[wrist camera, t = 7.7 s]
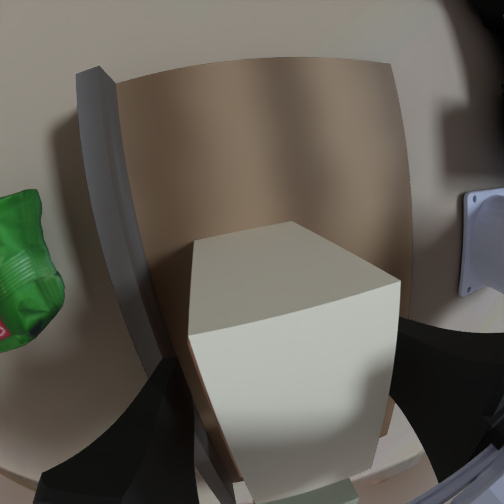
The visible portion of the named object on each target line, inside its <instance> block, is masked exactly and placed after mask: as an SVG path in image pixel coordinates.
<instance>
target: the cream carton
mask: <svg viewBox="0 0 504 504" xmlns="http://www.w3.org/2000/svg"><path fill="white" fill-rule="evenodd" d="M400 287H401V281H400V280H399V279H397V278H395V277H393V276H392V275H390V274H388V273H386V272H385V271H383V270H381V269H379V268H378V267H376V266H374V265H372V264H371V263H369V262H367V261H365V260H363V259H362V258H360V257H358V256H356V255H354V254H353V253H351V252H349V251H347V250H345V249H344V248H342V247H340V246H338V245H336V244H334V243H332V242H331V241H329V240H327V239H325V238H323V237H321V236H319V235H318V234H316V233H314V232H312V231H310V230H308V229H306V228H304V227H302V226H300V225H298V224H297V223H295V222H293V221H290V222H284V223H279V224H274V225H269V226H264V227H259V228H254V229H249V230H244V231H239V232H234V233H229V234H224V235H219V236H214V237H209V238H205V239H200V240H195V241H194V248H193V261H192V273H191V287H190V304H189V323H188V347H189V350H190V353H191V356H192V359H193V362H194V365H195V368H196V370H197V373H198V376H199V379H200V382H201V384H202V387H203V390H204V392H205V395H206V398H207V400H208V403H209V405H210V408H211V411H212V413H213V416H214V418H215V421H216V423H217V425H218V428H219V430H220V433H221V435H222V437H223V440H224V442H225V444H226V447H227V449H228V451H229V454H230V456H231V458H232V460H233V462H234V465H235V467H236V469H237V471H238V473H239V475H240V478H241V477H243V479H244V482H245V484H246V486H247V488H248V490H249V492H250V494H251V496H252V498H253V500H254V502H255V504H261V503H266V502H270V501H275V500H279V499H283V498H287V497H291V496H294V495H298V494H302V493H305V492H308V491H312V490H315V489H318V488H321V487H324V486H327V485H330V484H333V483H335V482H338V481H341V480H343V479H346V478H349V477H351V476H354V475H356V474H358V473H361V472H363V471H365V470H368V469H370V468H371V466H372V463H373V459H374V456H375V452H376V449H377V445H378V441H379V437H380V433H381V429H382V424H383V420H384V415H385V411H386V406H387V401H388V395H389V390H390V384H391V378H392V372H393V365H394V357H395V349H396V341H397V331H398V320H399V306H400Z"/></svg>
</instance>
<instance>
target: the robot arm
mask: <svg viewBox="0 0 504 504" xmlns="http://www.w3.org/2000/svg"><path fill="white" fill-rule="evenodd" d="M486 285H487V286H489V287H491V288H493V289H495V290H497V291H499V292H501V293H503V294H504V187H501V188H493V189H486V190H478V191H471V192H466V193H465V195H464V231H463V252H462V265H461V276H460V284H459V295H460V296H461V297H465V296H467V295H469V294H471V293H473V292H475V291H477V290H479V289H481V288H483V287H485V286H486ZM389 395H390V397H391V398H392V399H393V400H394V401H395V403H396V404H397V405H398V406H399V408H400V409H401V410H402V412H403V413H404V415H405V416H406V418H407V420H408V421H409V423H410V424H411V426H412V428H413V429H414V431H415V433H416V435H417V437H418V438H419V440H420V442H421V444H422V446H423V448H424V450H425V452H426V454H427V456H428V458H429V460H430V462H431V465H432V467H433V470H434V472H435V475H436V477H437V480H438V482H439V484H438V485H436V486H435V487H433V488H432V489H430V490H428V491H427V492H425V493H424V494H422V495H420V496H418V497H417V498H415V499H414V500H412V501H410V502H408V503H406V504H444V503H445V502H446V501H448V500H449V499H451V498H452V497H454V496H455V495H456V494H458V493H459V492H460V491H462V490H463V489H464V488H465V489H464V490H463V491H462V492H461V493H460V494H458V495H457V496H456V497H455V498H454V499H453V500H452V502H451V503H450V504H504V333H471V332H461V331H454V330H448V329H443V328H438V327H434V326H430V325H426V324H423V323H419V322H416V321H412V320H409V319H406V318H403V317H400V316H399V320H398V331H397V341H396V349H395V357H394V365H393V372H392V378H391V384H390V390H389ZM194 425H195V416H194V407H193V398H192V393H191V391H190V388H189V386H188V383H187V381H186V378H185V376H184V373H183V370H182V368H181V365H180V362H179V359H178V357H177V356H176V357H170V358H164V359H162V360H161V361H160V362H159V364H158V365H157V367H156V368H155V370H154V371H153V373H152V375H151V376H150V378H149V379H148V381H147V382H146V384H145V385H144V387H143V388H142V389H141V391H140V392H139V394H138V395H137V397H136V398H135V399H134V400H133V402H132V403H131V404H130V406H129V407H128V408H127V409H126V411H125V412H124V413H123V414H122V415H121V416H120V417H119V419H118V420H117V421H116V422H115V423H114V424H113V425H112V426H111V427H110V428H109V429H108V430H107V431H106V432H104V433H103V434H102V435H101V436H100V437H99V438H97V439H96V440H95V441H94V442H93V443H91V444H90V445H89V446H88V447H86V448H85V449H83V450H82V451H81V452H79V453H78V454H76V455H75V456H73V457H72V458H70V459H68V460H67V461H65V462H63V463H61V464H59V465H57V466H55V467H53V468H52V469H50V470H48V471H45V472H43V473H42V474H41V477H40V480H39V483H38V487H37V490H36V493H35V497H34V500H33V504H199V499H198V493H197V486H196V479H195V470H194ZM468 485H469V486H468ZM467 486H468V487H467ZM466 487H467V488H466Z"/></svg>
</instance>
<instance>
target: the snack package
mask: <svg viewBox="0 0 504 504" xmlns="http://www.w3.org/2000/svg"><path fill="white" fill-rule="evenodd" d="M41 215H42V202H41V199H40V196H39V193H38V191H37V189H28V190H23V191H21V192H18V193H15V194H12V195H8V196H5V197H1V198H0V353H2V352H6V351H9V350H12V349H16V348H19V347H21V346H24V345H26V344H27V343H29V342H30V341H32V340H33V339H35V338H36V337H37V336H38V335H39V334H40V332H41V331H42V330H43V329H44V328H45V327H46V326H47V325H48V324H49V322H50V321H51V320H52V319H53V318H54V317H55V316H56V314H57V313H58V312H59V310H60V309H61V308H62V306H63V303H64V298H65V293H64V288H65V286H64V283H63V280H62V278H61V275H60V274H59V272H58V271H57V270H56V268H55V267H54V265H53V263H52V261H51V258H50V254H49V251H48V248H47V246H46V243H45V241H44V237H43V230H42V227H41Z"/></svg>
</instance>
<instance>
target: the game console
mask: <svg viewBox="0 0 504 504" xmlns="http://www.w3.org/2000/svg"><path fill="white" fill-rule="evenodd" d="M473 1H474V3H475V6H476V8H477V11H478V13H479V16H480V18H481V21H482V24H483V26H485V27H486V28H488V29H489V30H490V31H492V32H493V33H495V34H496V35H497V36H499V37H500V38H502V39H503V40H504V0H473ZM501 85H502V90H503V93H502V97H503V103H504V84H501Z"/></svg>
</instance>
